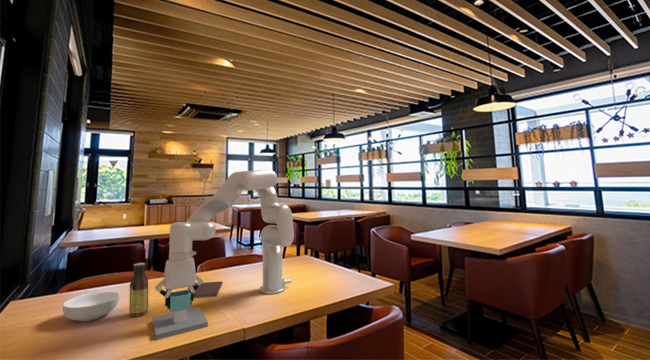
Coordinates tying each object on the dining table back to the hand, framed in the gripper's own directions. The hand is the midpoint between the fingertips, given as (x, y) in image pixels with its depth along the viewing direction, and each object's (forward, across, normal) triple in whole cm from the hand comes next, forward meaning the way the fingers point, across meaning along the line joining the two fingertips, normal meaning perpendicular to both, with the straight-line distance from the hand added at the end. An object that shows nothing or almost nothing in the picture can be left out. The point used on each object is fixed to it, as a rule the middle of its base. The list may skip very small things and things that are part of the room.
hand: (179, 305), depth 102 cm
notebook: (+7, -15, -33) cm, 37 cm away
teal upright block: (+1, 0, 0) cm, 1 cm away
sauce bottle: (+7, +12, -19) cm, 24 cm away
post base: (+7, 0, 0) cm, 7 cm away
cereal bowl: (+7, +27, -27) cm, 39 cm away
